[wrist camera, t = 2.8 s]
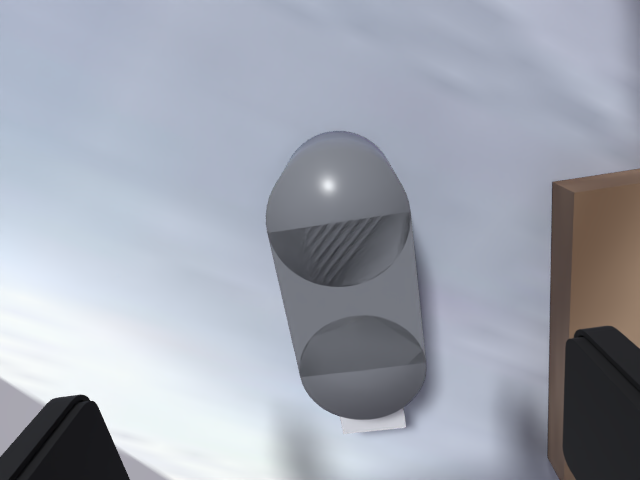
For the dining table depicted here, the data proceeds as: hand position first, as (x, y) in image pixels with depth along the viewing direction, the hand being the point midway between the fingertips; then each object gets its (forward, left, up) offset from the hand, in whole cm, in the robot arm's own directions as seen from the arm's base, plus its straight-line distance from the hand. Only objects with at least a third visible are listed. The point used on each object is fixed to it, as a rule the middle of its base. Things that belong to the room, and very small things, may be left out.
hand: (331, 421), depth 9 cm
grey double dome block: (-1, +1, -9) cm, 9 cm away
